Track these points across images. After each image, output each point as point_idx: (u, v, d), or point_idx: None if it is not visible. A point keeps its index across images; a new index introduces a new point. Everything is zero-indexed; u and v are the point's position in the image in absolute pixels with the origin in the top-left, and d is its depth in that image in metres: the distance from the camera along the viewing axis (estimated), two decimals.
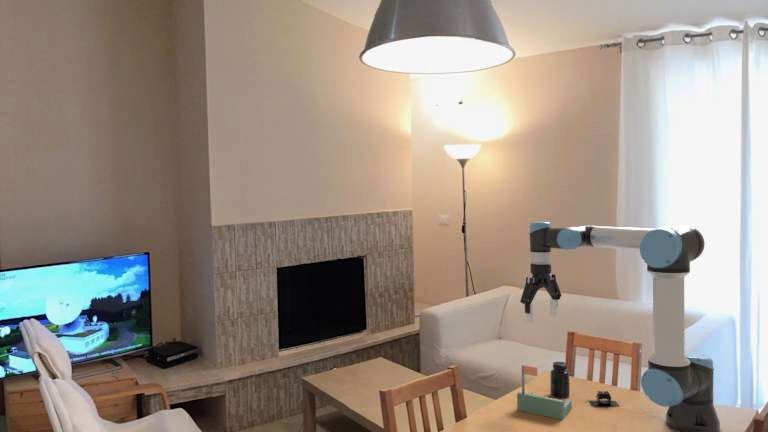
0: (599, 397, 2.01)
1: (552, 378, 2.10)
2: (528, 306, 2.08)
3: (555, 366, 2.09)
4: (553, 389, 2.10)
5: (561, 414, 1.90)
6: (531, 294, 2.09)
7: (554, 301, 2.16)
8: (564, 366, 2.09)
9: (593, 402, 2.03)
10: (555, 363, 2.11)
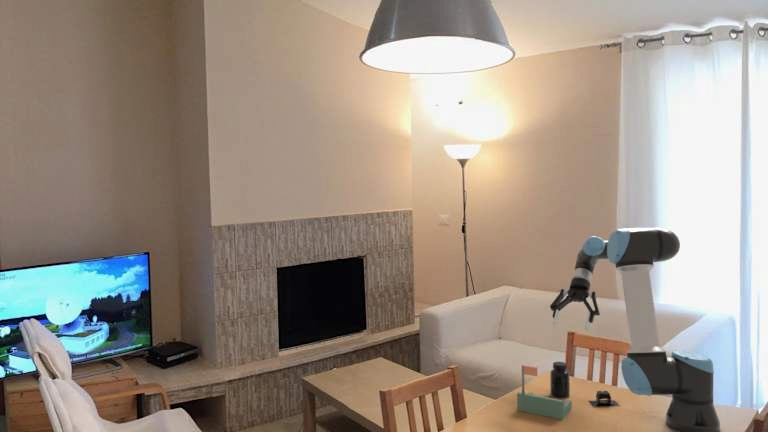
0: (599, 397, 2.01)
1: (552, 378, 2.10)
2: (554, 311, 2.29)
3: (555, 366, 2.09)
4: (553, 389, 2.10)
5: (561, 414, 1.90)
6: None
7: None
8: (564, 366, 2.09)
9: (593, 402, 2.03)
10: (555, 363, 2.11)
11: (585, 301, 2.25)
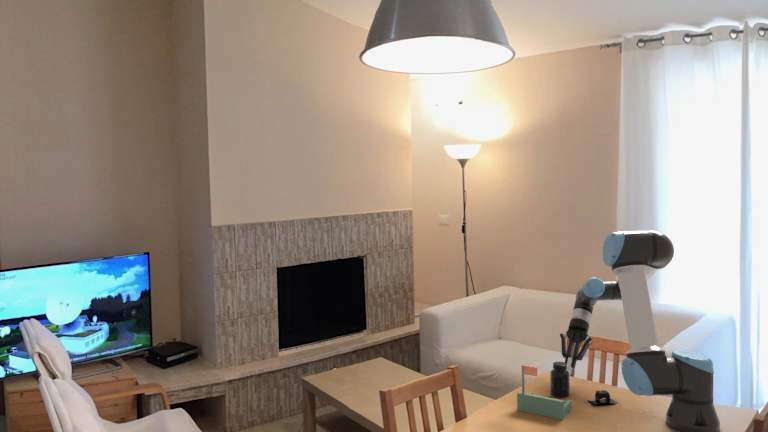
0: (599, 397, 2.01)
1: (552, 378, 2.10)
2: (566, 359, 2.23)
3: (555, 366, 2.09)
4: (553, 389, 2.10)
5: (561, 414, 1.90)
6: None
7: None
8: (564, 366, 2.09)
9: (593, 402, 2.03)
10: (555, 363, 2.11)
11: (576, 344, 2.25)
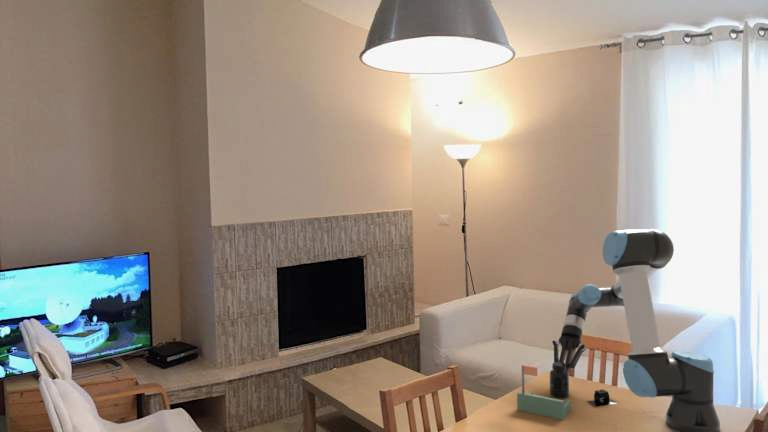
0: (599, 396, 2.01)
1: (551, 378, 2.09)
2: None
3: (554, 366, 2.09)
4: (552, 390, 2.09)
5: (561, 414, 1.90)
6: None
7: None
8: (563, 366, 2.08)
9: (592, 402, 2.03)
10: (554, 363, 2.10)
11: (569, 351, 2.20)
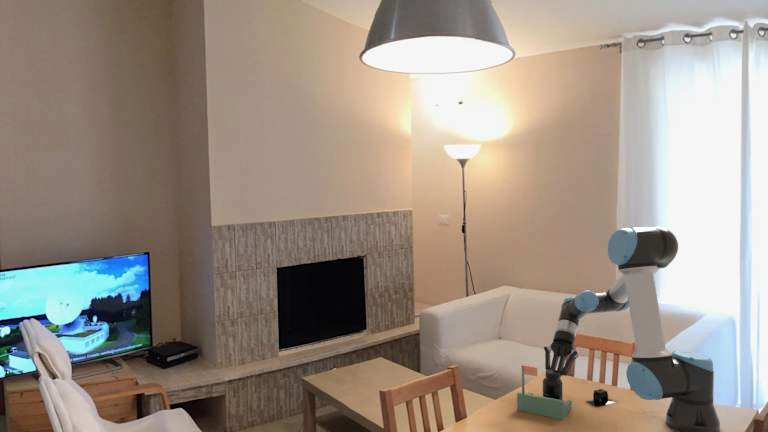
0: (599, 396, 2.02)
1: (546, 388, 2.00)
2: None
3: (549, 375, 2.00)
4: None
5: (561, 414, 1.90)
6: None
7: None
8: (558, 374, 2.00)
9: (592, 402, 2.03)
10: (548, 371, 2.02)
11: (561, 358, 2.12)
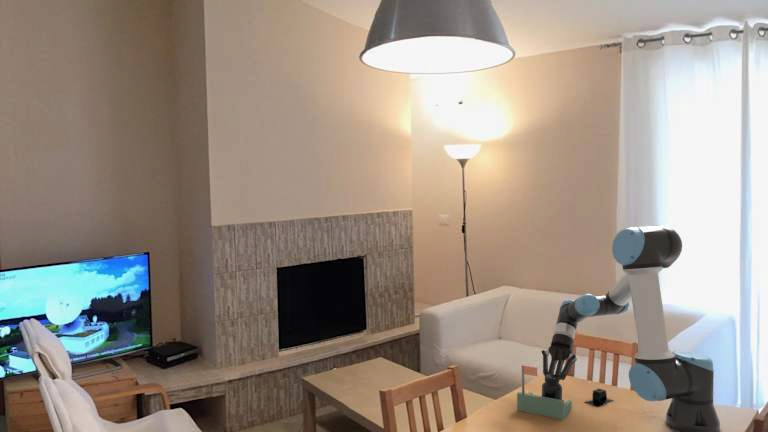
0: (599, 396, 2.02)
1: (547, 393, 1.95)
2: None
3: (550, 380, 1.95)
4: None
5: (561, 414, 1.90)
6: None
7: None
8: (558, 378, 1.96)
9: (592, 402, 2.03)
10: (548, 376, 1.97)
11: (559, 362, 2.07)
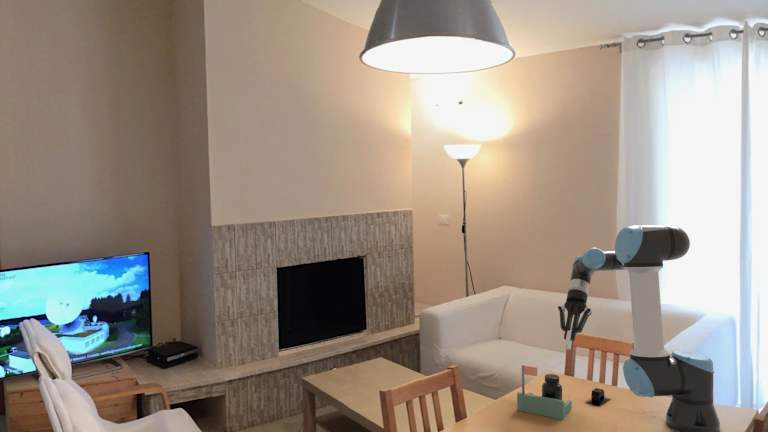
0: (599, 396, 2.02)
1: (547, 393, 1.95)
2: (566, 332, 2.17)
3: (550, 380, 1.95)
4: None
5: (561, 414, 1.90)
6: None
7: None
8: (558, 378, 1.96)
9: (592, 403, 2.02)
10: (548, 376, 1.97)
11: (575, 316, 2.19)
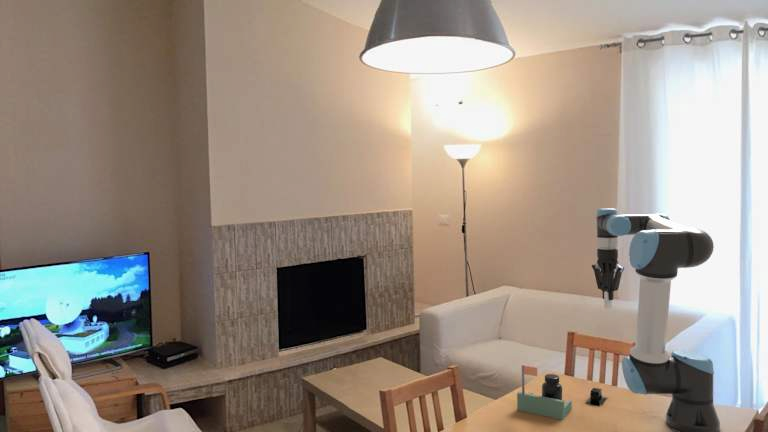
0: (598, 395, 2.03)
1: (547, 393, 1.95)
2: (603, 292, 2.23)
3: (550, 380, 1.95)
4: None
5: (561, 414, 1.90)
6: None
7: None
8: (558, 378, 1.96)
9: (592, 403, 2.02)
10: (548, 376, 1.97)
11: (608, 276, 2.20)
